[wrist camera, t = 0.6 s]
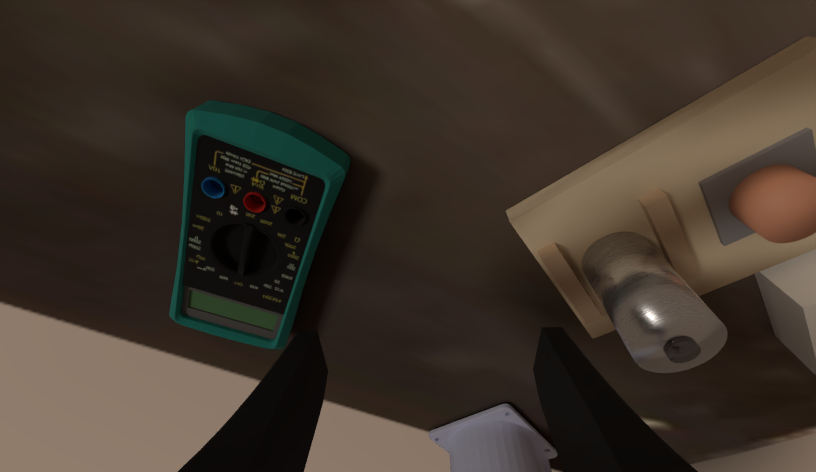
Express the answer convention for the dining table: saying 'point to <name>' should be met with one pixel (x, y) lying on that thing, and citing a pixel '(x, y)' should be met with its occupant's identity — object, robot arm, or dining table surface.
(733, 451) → the dining table surface
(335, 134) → the dining table surface
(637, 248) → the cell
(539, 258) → the beige button panel
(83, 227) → the dining table surface
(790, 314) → the tray
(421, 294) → the dining table surface
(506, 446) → the robot arm
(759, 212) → the test button
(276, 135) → the digital multimeter
